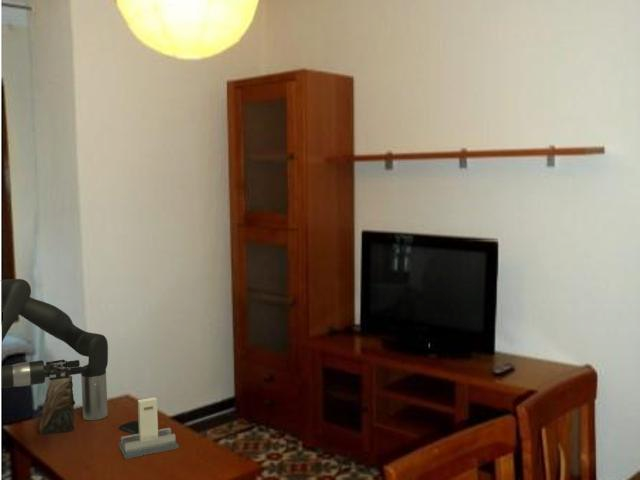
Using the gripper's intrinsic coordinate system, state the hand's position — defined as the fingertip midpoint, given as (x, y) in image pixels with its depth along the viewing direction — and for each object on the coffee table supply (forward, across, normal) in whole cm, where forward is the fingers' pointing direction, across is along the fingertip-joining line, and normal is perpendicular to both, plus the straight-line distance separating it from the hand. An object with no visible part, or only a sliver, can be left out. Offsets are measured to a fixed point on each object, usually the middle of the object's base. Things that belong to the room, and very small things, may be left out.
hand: (81, 366), depth 211 cm
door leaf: (+20, -7, +29) cm, 36 cm away
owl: (-7, +26, +30) cm, 40 cm away
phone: (+20, +10, +31) cm, 38 cm away
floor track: (+20, -7, +30) cm, 37 cm away
